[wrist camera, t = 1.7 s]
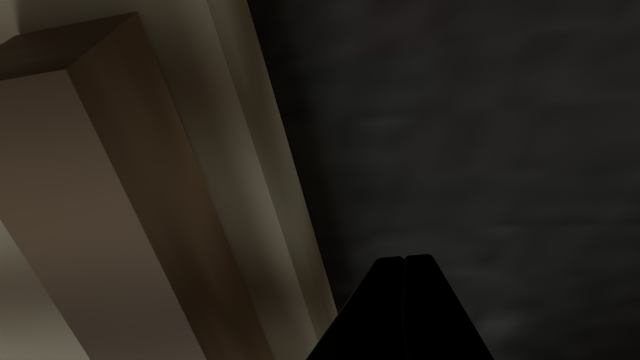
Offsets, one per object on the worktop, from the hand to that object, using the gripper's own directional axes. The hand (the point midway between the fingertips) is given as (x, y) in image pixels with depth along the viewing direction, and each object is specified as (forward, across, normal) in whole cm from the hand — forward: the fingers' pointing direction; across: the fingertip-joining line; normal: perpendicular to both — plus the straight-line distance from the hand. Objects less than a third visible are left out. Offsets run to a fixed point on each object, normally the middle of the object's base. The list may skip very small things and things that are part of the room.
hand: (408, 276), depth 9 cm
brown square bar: (+5, +7, +4) cm, 9 cm away
